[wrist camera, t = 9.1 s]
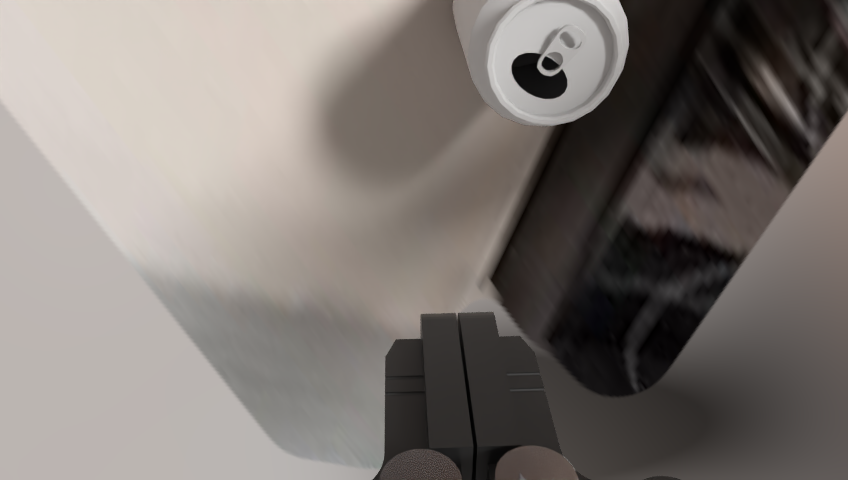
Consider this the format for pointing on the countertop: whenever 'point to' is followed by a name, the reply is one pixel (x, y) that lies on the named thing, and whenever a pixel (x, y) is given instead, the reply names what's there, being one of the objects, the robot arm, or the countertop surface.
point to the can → (543, 55)
